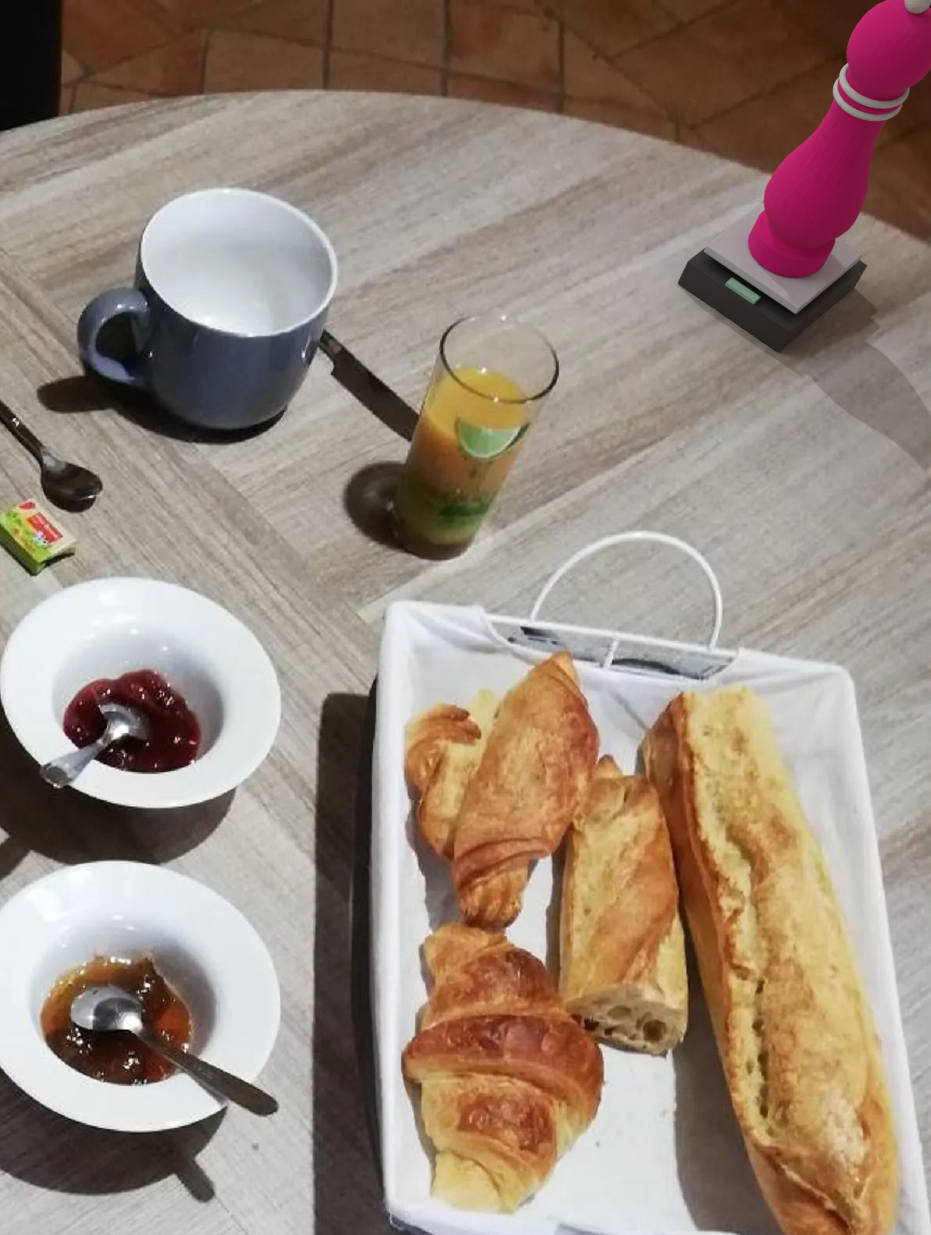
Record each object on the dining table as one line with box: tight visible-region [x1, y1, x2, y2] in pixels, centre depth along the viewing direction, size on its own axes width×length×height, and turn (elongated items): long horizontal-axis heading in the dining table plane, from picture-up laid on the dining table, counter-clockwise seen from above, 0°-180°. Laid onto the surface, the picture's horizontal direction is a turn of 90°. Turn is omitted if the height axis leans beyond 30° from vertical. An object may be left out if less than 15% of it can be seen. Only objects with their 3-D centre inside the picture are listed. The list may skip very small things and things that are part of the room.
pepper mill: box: [748, 0, 931, 278], centre depth 120 cm, size 7×7×20 cm
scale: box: [677, 199, 868, 353], centre depth 131 cm, size 10×11×3 cm
